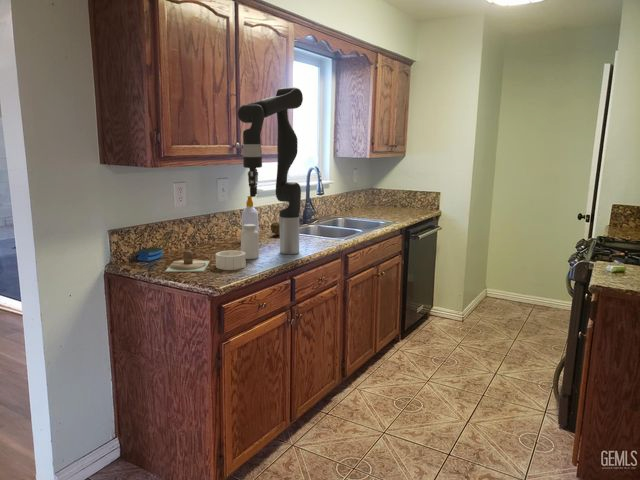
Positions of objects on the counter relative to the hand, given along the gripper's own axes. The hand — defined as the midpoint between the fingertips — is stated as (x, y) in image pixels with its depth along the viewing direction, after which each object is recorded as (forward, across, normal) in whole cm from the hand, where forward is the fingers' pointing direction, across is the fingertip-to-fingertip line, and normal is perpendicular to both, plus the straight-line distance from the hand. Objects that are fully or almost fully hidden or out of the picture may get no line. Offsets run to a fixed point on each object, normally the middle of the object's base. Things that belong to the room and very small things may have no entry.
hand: (253, 195), depth 200 cm
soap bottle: (+31, +54, +6) cm, 63 cm away
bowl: (+29, -3, +10) cm, 31 cm away
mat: (+29, -3, +28) cm, 40 cm away
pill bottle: (+30, +14, +4) cm, 33 cm away
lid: (+29, -3, +28) cm, 40 cm away
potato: (+31, +69, -8) cm, 76 cm away
